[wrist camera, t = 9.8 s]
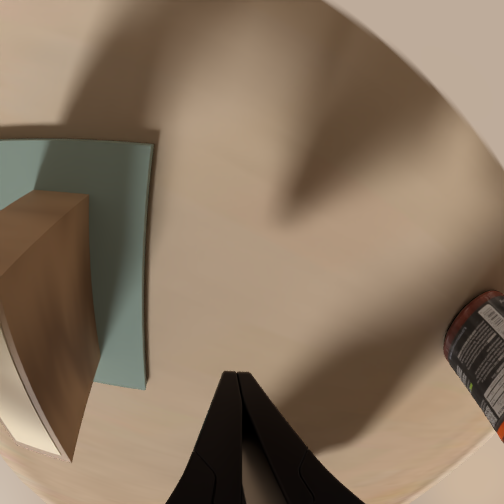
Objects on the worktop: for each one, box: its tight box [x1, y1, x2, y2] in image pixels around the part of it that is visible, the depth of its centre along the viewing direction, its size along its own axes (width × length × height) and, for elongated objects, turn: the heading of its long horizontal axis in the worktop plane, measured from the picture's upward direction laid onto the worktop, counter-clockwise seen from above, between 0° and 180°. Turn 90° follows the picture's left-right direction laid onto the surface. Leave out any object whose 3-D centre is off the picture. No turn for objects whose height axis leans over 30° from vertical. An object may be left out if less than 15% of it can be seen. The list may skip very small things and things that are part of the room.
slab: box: [0, 190, 101, 463], centre depth 9 cm, size 8×2×6 cm, turn 168°
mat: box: [0, 138, 154, 390], centre depth 11 cm, size 12×12×1 cm
